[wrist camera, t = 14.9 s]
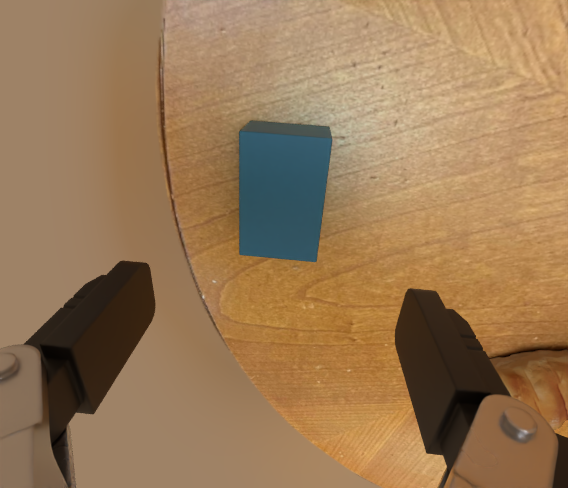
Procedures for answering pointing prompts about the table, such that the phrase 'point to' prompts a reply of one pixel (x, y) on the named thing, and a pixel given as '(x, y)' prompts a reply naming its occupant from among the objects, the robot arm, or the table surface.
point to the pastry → (538, 381)
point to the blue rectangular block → (282, 189)
